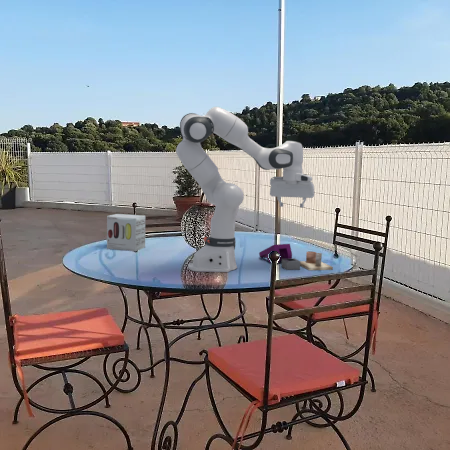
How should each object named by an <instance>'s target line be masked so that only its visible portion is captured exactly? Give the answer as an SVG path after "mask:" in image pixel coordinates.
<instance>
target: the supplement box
mask: <svg viewBox="0 0 450 450" xmlns="http://www.w3.org/2000/svg"><path fill="white" fill-rule="evenodd" d="M106 217H107V218H106V250H108V249H109V250H117V251H129V252H138V251H140V250H142V249H144V248H146V215H144V214H142V215H141V214H140V215H137V214H127V213H126V214H125V213H124V214H123V213H115V214H114V213H113V214H110V215H107V216H106Z"/></svg>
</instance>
